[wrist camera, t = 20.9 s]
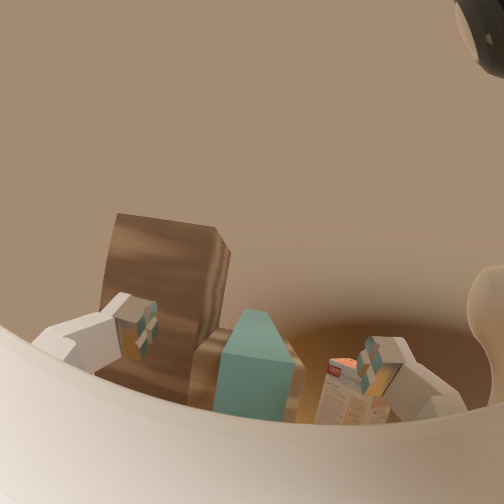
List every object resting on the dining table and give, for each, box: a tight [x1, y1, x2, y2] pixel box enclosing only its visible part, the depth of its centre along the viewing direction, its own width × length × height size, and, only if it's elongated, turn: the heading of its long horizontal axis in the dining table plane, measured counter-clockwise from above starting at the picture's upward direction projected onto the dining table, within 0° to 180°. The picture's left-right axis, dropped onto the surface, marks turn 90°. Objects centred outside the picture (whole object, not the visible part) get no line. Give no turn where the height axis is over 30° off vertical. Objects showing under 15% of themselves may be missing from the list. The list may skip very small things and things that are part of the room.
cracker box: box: [314, 358, 390, 425], centre depth 42 cm, size 14×6×21 cm, turn 20°
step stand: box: [95, 213, 307, 423], centre depth 27 cm, size 15×18×36 cm
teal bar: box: [213, 309, 295, 422], centre depth 23 cm, size 26×3×3 cm, turn 179°
